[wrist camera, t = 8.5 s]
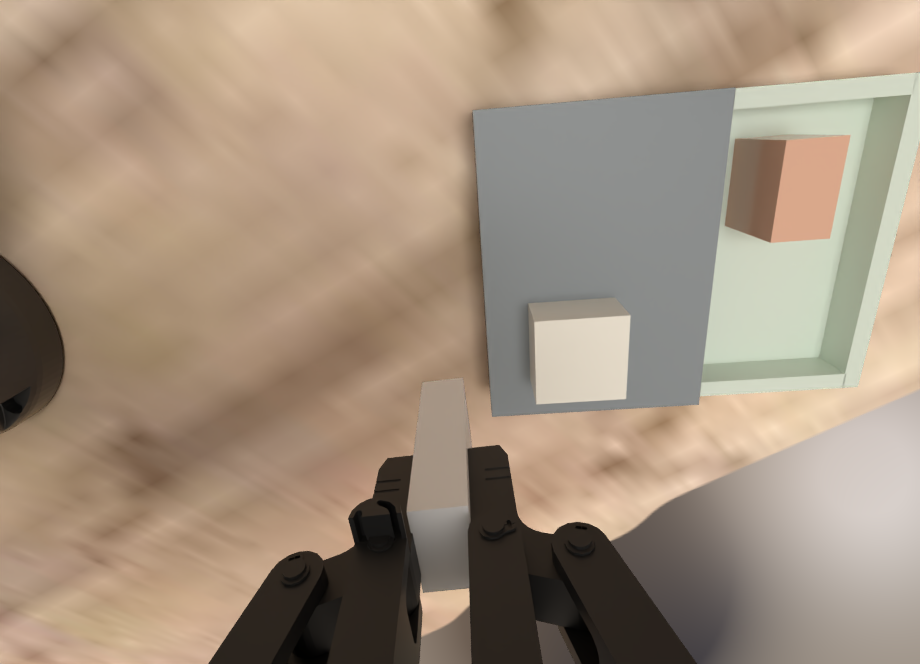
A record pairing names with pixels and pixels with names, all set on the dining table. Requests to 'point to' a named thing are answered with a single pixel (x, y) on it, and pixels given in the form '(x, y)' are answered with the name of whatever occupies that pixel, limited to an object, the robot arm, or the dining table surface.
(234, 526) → the dining table surface
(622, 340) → the tile cream
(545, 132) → the grey rectangular slab
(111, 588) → the dining table surface
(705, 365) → the tray
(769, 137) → the tile terracotta
